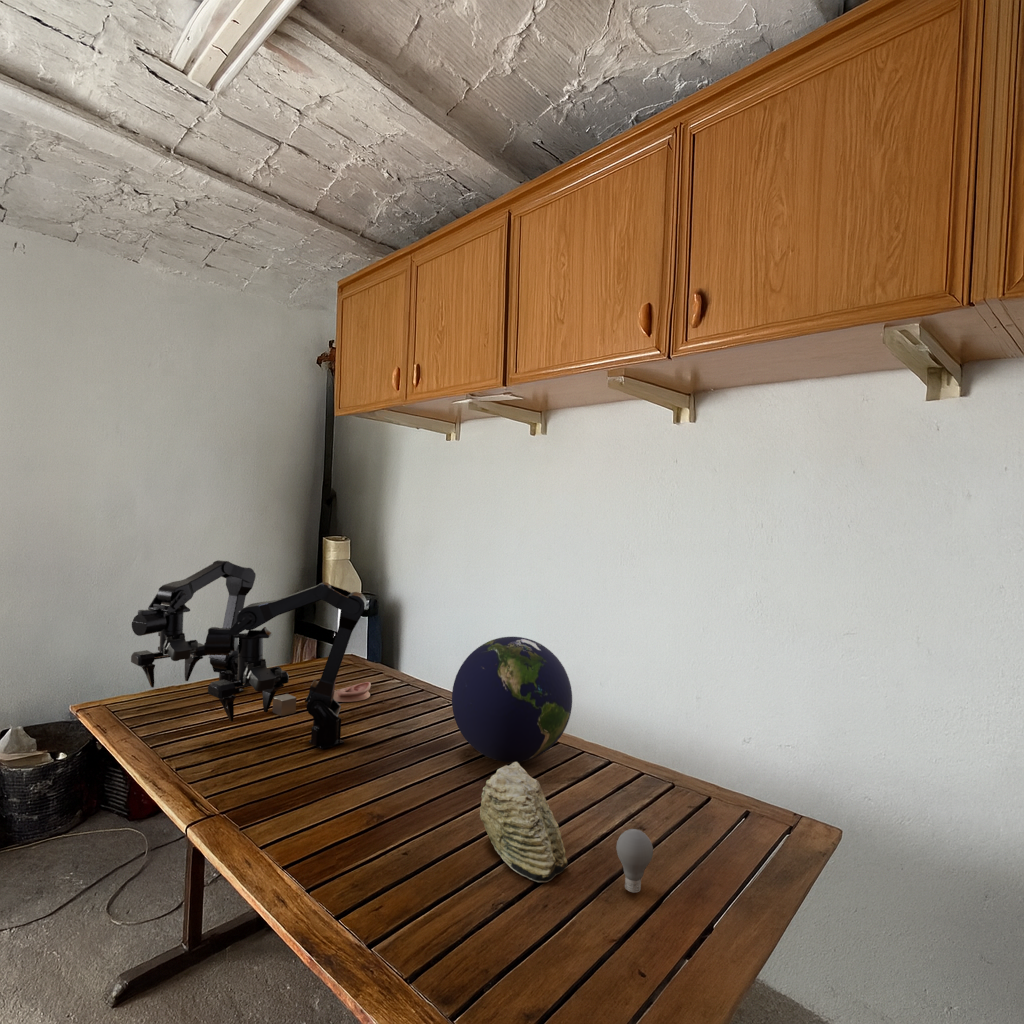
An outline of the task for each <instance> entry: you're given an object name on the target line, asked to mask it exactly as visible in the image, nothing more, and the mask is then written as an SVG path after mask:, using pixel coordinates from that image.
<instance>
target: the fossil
mask: <svg viewBox="0 0 1024 1024" xmlns="http://www.w3.org/2000/svg"><path fill="white" fill-rule="evenodd" d="M479 819H480V820H481V822H482V823H483V827H484V829H485V832H486V833H487V836H488V838H489V840H490V842H491V844H492V845H493V848H494V850H495V852H496V853H497V854H498V856H500V858H501V859H502V861H503V862H504V863H505V864H506V865H507V867H509V868H510V869H511V870H513V871H514V873H517V874H519V875H520V876H522V877H525V878H527V879H528V880H531V881H533V882H536V883H548V882H550V881H552V880H553V879H554V878H555V877H556V876H557V875H560V874H561V873H563V872H564V871H565V870H566V868H567V867H568V866H569V863H568V859H567V856H566V848H565V847H564V841H563V838H562V834H561V831H560V826H559V824H558V822H557V821H556V818H555V817H554V813H553V811H552V810H551V807H550V805H549V803H548V802H547V799H546V796H545V794H544V790H543V789H542V786H541V784H540V781H539V780H537V779H535V778H533V777H532V776H531V775H529V773H528V772H527V771H526V769H524V768H523V766H521V764H520V762H511V763H510V764H509V765H507V764H506V765H504V766H502V767H500V768H498V769H497V770H496V772H495V773H494V774H492V775H491V776H490V778H489V779H487V780H486V782H485V786H483V788H482V792H481V802H480V808H479Z"/></svg>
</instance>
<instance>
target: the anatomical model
mask: <svg viewBox="0 0 1024 1024" xmlns="http://www.w3.org/2000/svg"><path fill="white" fill-rule="evenodd" d="M371 686H372V684H371V681H365V682H364V681H363V682H361V683H357V684H353V685H350V686H347V687H344V688H339V689H337V690H334V697H333V699H334V700H335V701H336V702H337V703H350V702H359V701H364V700H367V699H369V698H370V697H371V693H370V691H369V690H370V689H371V688H372V687H371Z"/></svg>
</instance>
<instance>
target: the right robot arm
mask: <svg viewBox="0 0 1024 1024" xmlns="http://www.w3.org/2000/svg"><path fill="white" fill-rule="evenodd" d="M319 601H323V602H325V603H327V604H329V605H330V606H332V607H333V608H335V609H337V610H340V612H339V621H338V628H337V631H336V634H335V637H334V640H333V643H332V646H331V648H330V651H329V654H328V656H327V659H326V663H325V665H324V668H323V671H322V674H321V677H320V678H319V680H316V679H313V681H312V683H311V685H310V686H309V690H308V694H307V696H306V698H305V700H304V703H306V707H305V708H306V711H307V713H308V715H310V716H311V717H312V719H313V721H312V722H313V723H312V727H311V730H310V731H311V732H310V733H311V735H310V739H309V740H308V743H309V744H310V745H313V746H314V747H316V748H318V749H320V750H327V749H329V748H333V747H336V746H340V745H343V744H344V743H345V741H344V740H343V739H341V737H342V735H341V733H342V717H340V716H339V714H340V712H341V709H342V705H341V704H340V703H339V702H336V701H335V700H334V699H333V697H334V691H336V680H337V678H338V674H339V671H340V669H341V665H342V663H343V659H344V657H345V654H346V651H347V648H348V645H349V642H350V640H351V636H352V634H353V631H354V629H355V628H356V626H357V624H358V622H359V620H360V619H361V617H362V616H363V613H364V612H365V609H366V607H367V602H368V601H367V598H366V596H365V595H364V594H363V593H361V592H358V591H353V592H351V591H349V590H346V589H343V588H341V587H338V586H335V585H332V584H330V583H329V582H326V581H324V582H323V581H322V582H320V583H319V584H317V585H315V586H312V587H308V588H306V589H303V590H300V591H298V592H294V593H292V594H289V595H286V596H283V597H280V598H277V599H273V600H266V601H265V600H264V601H259V602H254V603H250V604H248V605H246V606H244V608H243V609H242V610H241V611H239V613H238V615H237V622H236V623H235V624H234V625H233V626H232V627H231V628H223V627H216V626H211V627H209V628H208V630H207V635H206V637H205V642H204V643H203V645H204V650H205V654H206V656H210V655H231V654H232V652H233V651H236V650H237V647H238V645H239V647H238V658H236V659H235V663H238V674H236V675H235V679H237V680H238V681H236V682H230V681H227V680H225V679H224V680H219V679H218V680H215V681H211V682H210V683H209V685H208V686H207V694H208V695H210V696H212V697H215V698H216V699H218V700H219V702H220V704H221V705H222V707H223V709H224V712H225V714H226V716H227V719H228V721H229V722H232V723H233V722H234V714H235V713H234V712H235V709H234V707H235V705H234V703H235V700H236V699H237V695H234V694H236V693H235V690H236V689H240V688H241V689H244V688H250V687H252V688H253V690H254V691H255V692H258V693H259V692H262V708H263V713H267V714H268V712H269V709H270V707H271V704H272V703H273V697H275V696H276V693H277V692H278V691H279V690H280V689H281V688H284V687H285V684H288V683H289V680H290V676H289V673H288V672H287V671H286V670H283V669H282V667H280V666H273V667H268V666H267V661H266V658H264V657H263V656H264V639H269V638H270V637H271V636H272V635H273V633H272V631H270V630H269V629H268V628H267V627H266V626H263V625H264V624H266V623H267V622H269V621H270V620H272V619H275V618H276V617H278V616H280V615H283V614H286V613H288V612H291V611H293V610H298V609H300V608H302V607H305V606H308V605H311V604H314V603H316V602H319ZM260 626H263V628H261V629H257V628H259V627H260ZM244 631H247V632H244ZM242 632H243V633H242Z"/></svg>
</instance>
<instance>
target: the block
mask: <svg viewBox="0 0 1024 1024" xmlns="http://www.w3.org/2000/svg"><path fill="white" fill-rule="evenodd" d="M271 710H272V713H273V714H275V715H277V716H280V717H284V716H288V715H293V714H296V713H297V697H296V696H294V695H291V694H289V693H285V694H280V695H274V697H273V699H272V709H271Z"/></svg>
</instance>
